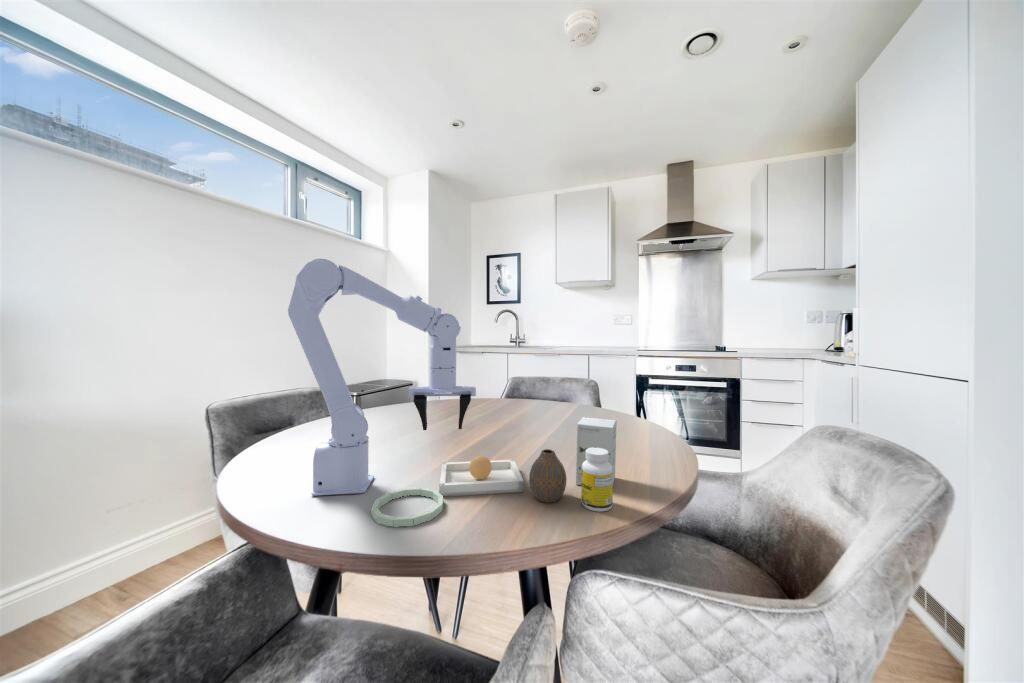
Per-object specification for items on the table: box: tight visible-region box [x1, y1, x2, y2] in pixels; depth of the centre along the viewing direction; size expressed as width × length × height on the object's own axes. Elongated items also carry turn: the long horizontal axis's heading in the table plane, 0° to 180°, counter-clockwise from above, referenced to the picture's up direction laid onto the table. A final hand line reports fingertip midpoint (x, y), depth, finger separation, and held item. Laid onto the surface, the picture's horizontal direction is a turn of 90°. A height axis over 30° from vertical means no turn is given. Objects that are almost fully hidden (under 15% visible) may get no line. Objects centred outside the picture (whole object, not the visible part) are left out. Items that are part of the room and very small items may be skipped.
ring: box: [370, 486, 444, 528], centre depth 61 cm, size 12×12×1 cm
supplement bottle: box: [581, 448, 614, 513], centre depth 63 cm, size 5×5×10 cm
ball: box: [469, 455, 492, 480], centre depth 73 cm, size 5×5×5 cm
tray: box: [438, 459, 525, 497], centre depth 73 cm, size 16×12×2 cm
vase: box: [528, 448, 567, 504], centre depth 65 cm, size 7×7×9 cm
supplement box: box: [575, 416, 618, 487], centre depth 73 cm, size 7×7×13 cm
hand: (442, 428), depth 78 cm, fingers open, 7 cm apart
